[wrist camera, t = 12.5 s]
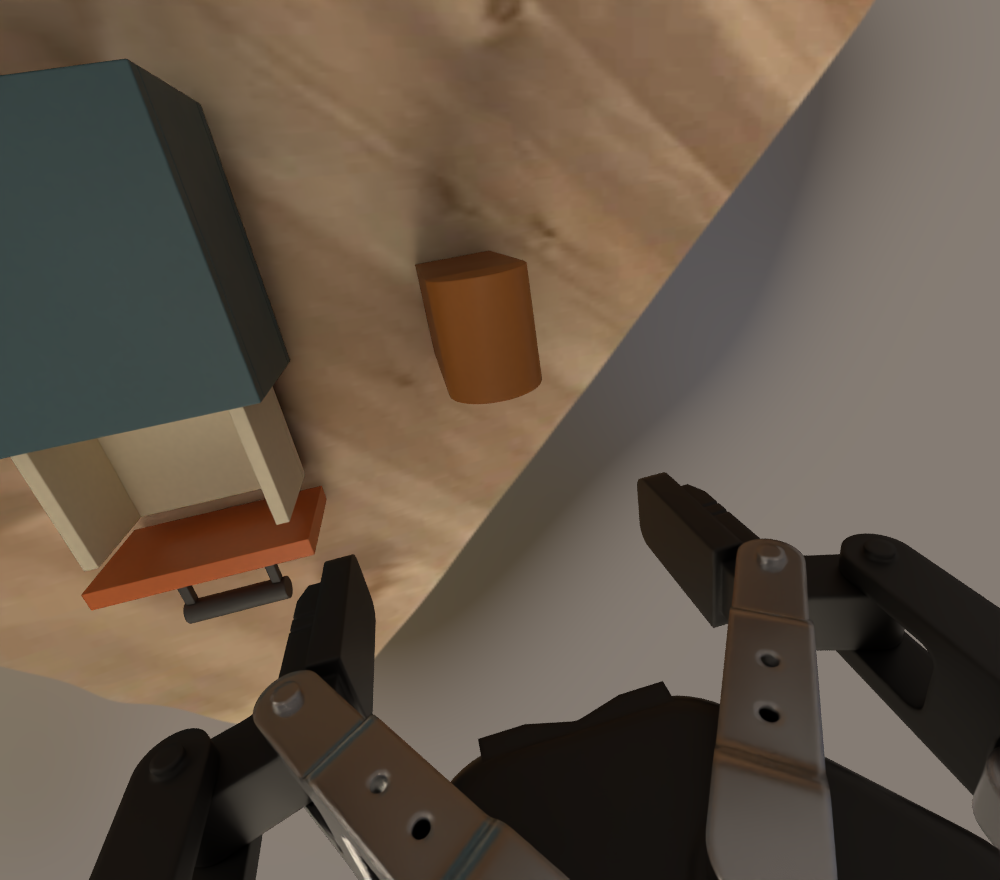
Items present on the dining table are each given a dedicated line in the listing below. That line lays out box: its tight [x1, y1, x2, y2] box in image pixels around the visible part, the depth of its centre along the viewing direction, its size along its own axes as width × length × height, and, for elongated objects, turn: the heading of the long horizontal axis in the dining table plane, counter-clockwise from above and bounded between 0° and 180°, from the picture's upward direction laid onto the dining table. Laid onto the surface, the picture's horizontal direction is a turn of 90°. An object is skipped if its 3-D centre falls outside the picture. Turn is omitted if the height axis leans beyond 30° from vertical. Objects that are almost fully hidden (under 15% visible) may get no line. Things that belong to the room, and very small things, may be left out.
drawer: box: [10, 386, 327, 624], centre depth 31 cm, size 18×13×7 cm
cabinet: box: [0, 59, 290, 459], centre depth 26 cm, size 15×14×9 cm
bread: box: [415, 251, 542, 404], centre depth 29 cm, size 6×5×12 cm
